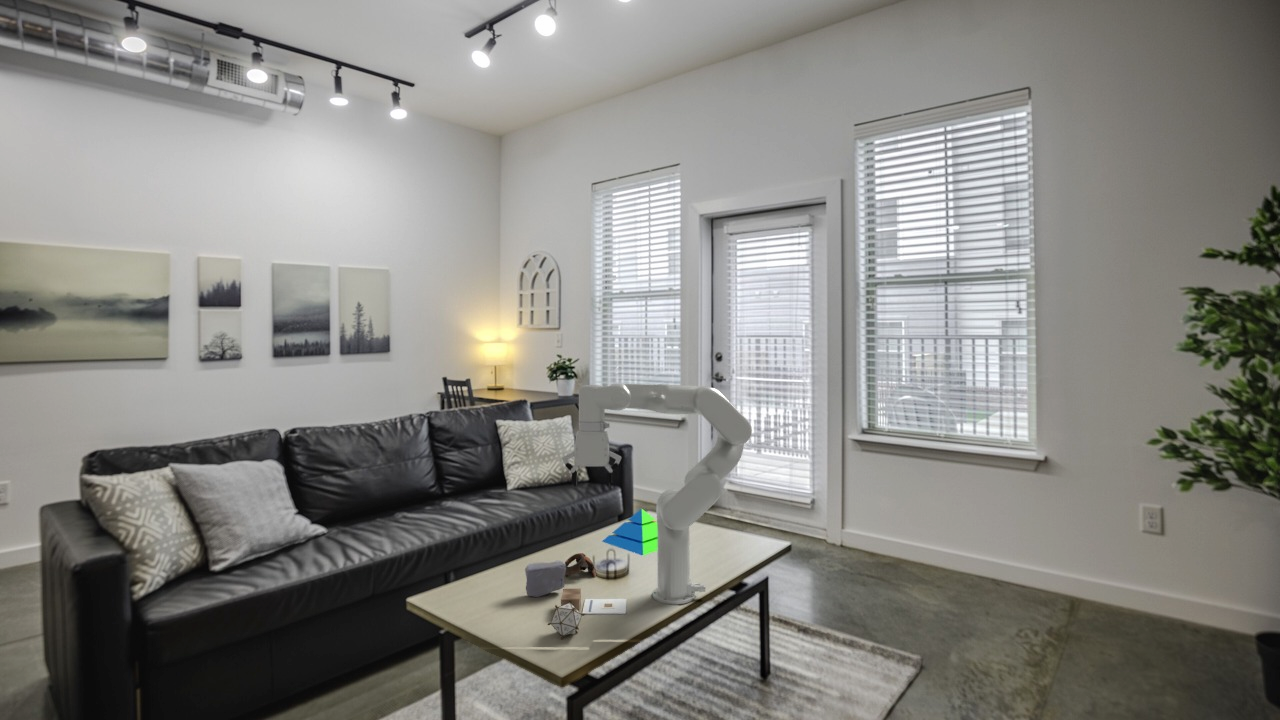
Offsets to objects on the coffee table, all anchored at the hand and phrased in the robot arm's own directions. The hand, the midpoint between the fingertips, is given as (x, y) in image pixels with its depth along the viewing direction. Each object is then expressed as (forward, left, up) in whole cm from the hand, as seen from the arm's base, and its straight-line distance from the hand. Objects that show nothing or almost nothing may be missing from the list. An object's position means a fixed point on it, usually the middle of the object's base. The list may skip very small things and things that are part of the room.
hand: (591, 485), depth 183 cm
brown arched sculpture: (+4, -20, -34) cm, 40 cm away
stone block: (+14, -2, -34) cm, 36 cm away
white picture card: (-4, +6, -33) cm, 34 cm away
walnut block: (+5, +5, -31) cm, 32 cm away
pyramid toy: (-15, -53, -34) cm, 65 cm away
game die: (+4, +19, -30) cm, 36 cm away
